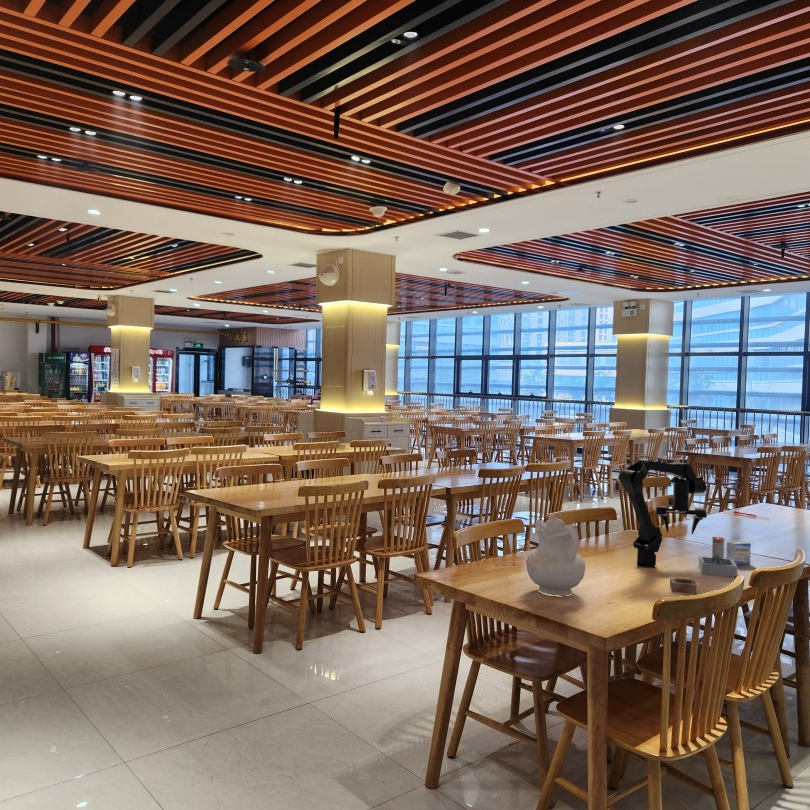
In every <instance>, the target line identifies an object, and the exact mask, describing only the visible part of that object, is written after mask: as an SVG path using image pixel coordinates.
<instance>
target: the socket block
mask: <svg viewBox="0 0 810 810" xmlns="http://www.w3.org/2000/svg"><path fill="white" fill-rule="evenodd" d="M669 588H670V590H671V592H672V593H679V594H681V593H682V594H691V595H698V584H697V582H696V580H695V579H694V578H684V577H683V578H682V577H672V576H670V577H669Z"/></svg>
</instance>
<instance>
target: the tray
mask: <svg viewBox="0 0 810 810" xmlns="http://www.w3.org/2000/svg"><path fill="white" fill-rule="evenodd" d="M697 565H698V569H699V571H700V572H701V574H702V575H709V576H718V577H720V576H721V577H729V576H732V578H735V577H734V576H737V577H738V565H736V564H735V563H734V561H733V560H732V559H727V558H724V560H723V565H721V564H712V556H700V555H699V556H698V564H697Z"/></svg>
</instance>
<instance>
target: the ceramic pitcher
mask: <svg viewBox="0 0 810 810" xmlns="http://www.w3.org/2000/svg"><path fill="white" fill-rule="evenodd" d="M534 525H535V532H536V534H537V537H538V546H537V548H536V549H534V551H532V552H531V553H530V554H528V556H527V558H526V559H525V560H526V561H525V563H526V571H527V575H528V576H529V578H530V579H531V581H532V582H533V583H534V584H535V585H537V586H539V587H538V589H537V591H538V590H539V591H541V592H543V593H547V594H551V595H559V596H566V595H570V594H572V592H573V591H572V589H574V588H575V587H577V586H578V585H579V584H580V583H581V582H582V580H583V579H584V576H585V574H586V562H585V560H584V558H583V557H582V556H581V555H580V554H579V553H578V551H579V544H580V543H579V542H580V538H579V533H578V527H577V525H575V524H574V523H572V524H571V523H569V524H568V525H566V524H565V521H564V519H560V518H558V517H556V516H551V517H548V519H547V520H546V521H545V522H543V521H542V520H540V519H538V518H537V519H536V521H535V524H534Z"/></svg>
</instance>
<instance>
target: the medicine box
mask: <svg viewBox="0 0 810 810" xmlns="http://www.w3.org/2000/svg"><path fill="white" fill-rule="evenodd" d="M751 548H752V547H751V542H747V541H727V542H726V559H732V560H733V561H734V563H735V564H736V565H737V566H748V565H751V551H752V550H751Z"/></svg>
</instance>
